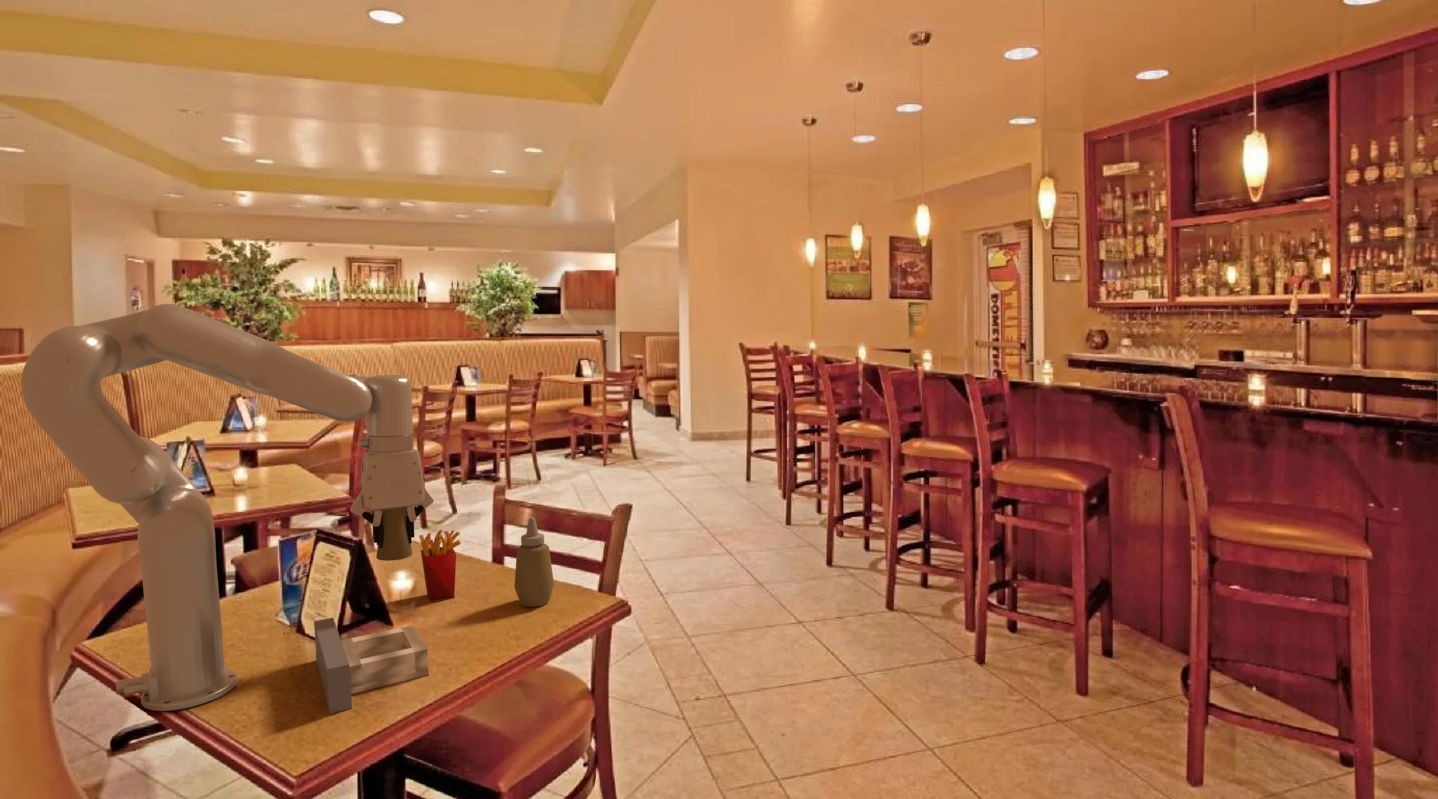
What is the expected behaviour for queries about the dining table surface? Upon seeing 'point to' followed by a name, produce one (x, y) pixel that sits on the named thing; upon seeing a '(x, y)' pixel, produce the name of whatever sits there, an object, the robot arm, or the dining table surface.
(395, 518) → the pepper mill
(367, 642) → the holder block
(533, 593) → the squeeze bottle
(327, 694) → the backstop wall
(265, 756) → the dining table surface
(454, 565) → the french fries
